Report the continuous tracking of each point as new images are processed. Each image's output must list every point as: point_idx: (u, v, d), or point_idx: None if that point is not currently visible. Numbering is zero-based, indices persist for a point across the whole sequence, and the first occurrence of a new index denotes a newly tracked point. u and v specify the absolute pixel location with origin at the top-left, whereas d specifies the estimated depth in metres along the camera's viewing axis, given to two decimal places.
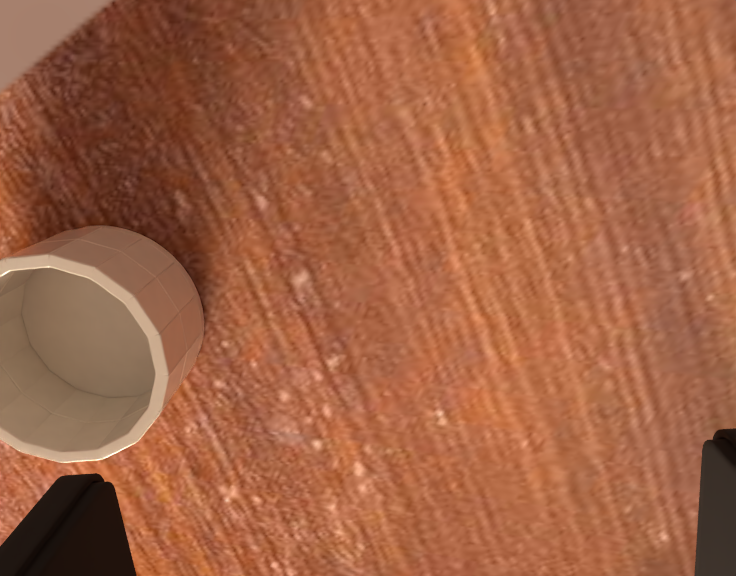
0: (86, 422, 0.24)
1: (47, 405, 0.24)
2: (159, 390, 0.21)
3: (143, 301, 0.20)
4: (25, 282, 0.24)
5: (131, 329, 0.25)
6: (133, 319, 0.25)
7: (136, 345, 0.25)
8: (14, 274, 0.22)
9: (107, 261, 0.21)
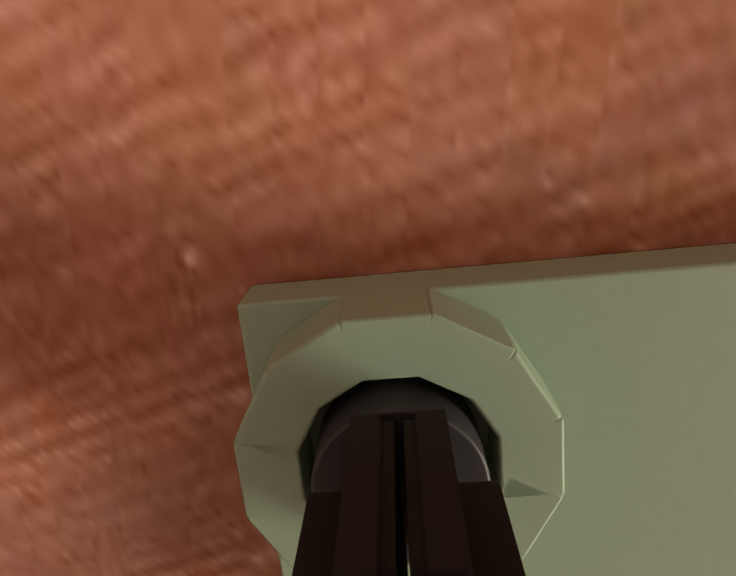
0: None
1: None
2: None
3: None
4: None
5: None
6: None
7: None
8: None
9: None
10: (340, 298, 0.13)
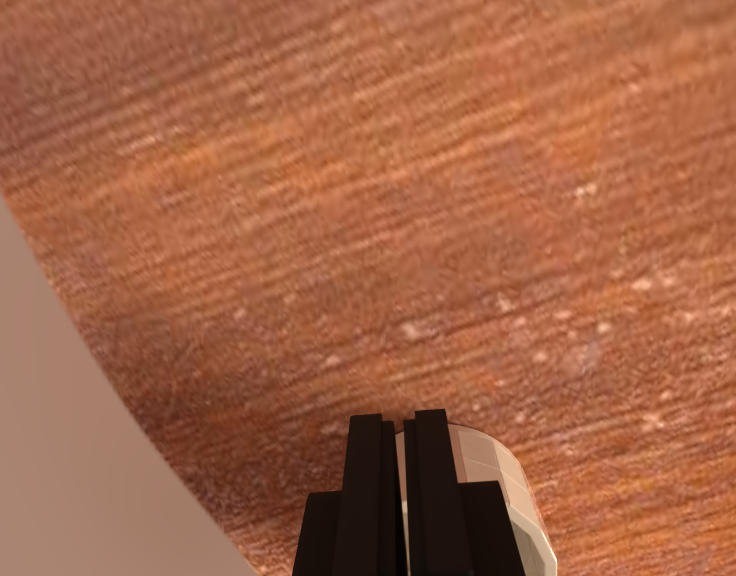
0: (531, 554, 0.24)
1: None
2: None
3: None
4: None
5: None
6: None
7: None
8: None
9: None
10: None
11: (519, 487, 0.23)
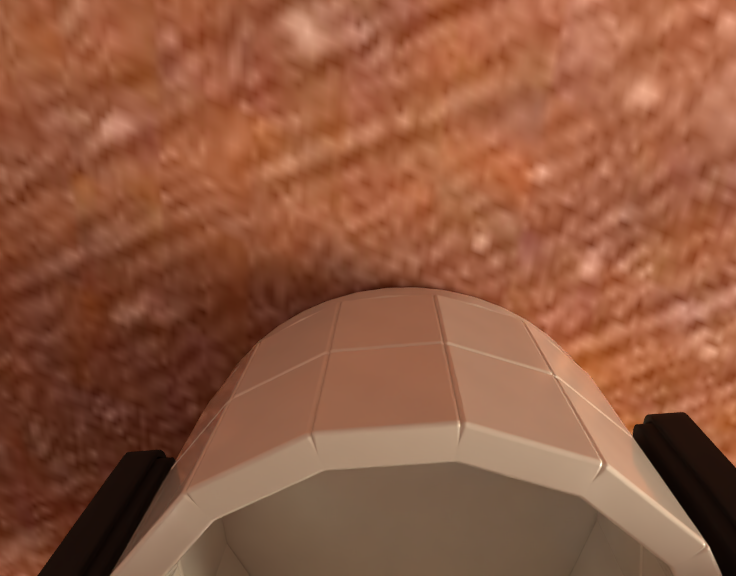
0: None
1: None
2: (517, 457, 0.06)
3: (219, 463, 0.07)
4: None
5: None
6: None
7: None
8: None
9: (136, 529, 0.07)
10: None
11: (611, 424, 0.08)
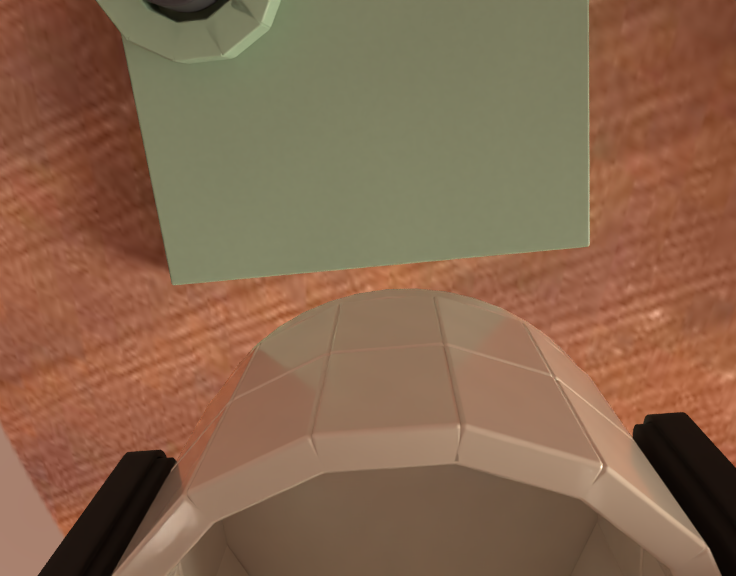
0: None
1: None
2: (518, 459, 0.06)
3: (220, 465, 0.07)
4: None
5: None
6: None
7: None
8: None
9: (137, 530, 0.07)
10: None
11: (612, 425, 0.08)
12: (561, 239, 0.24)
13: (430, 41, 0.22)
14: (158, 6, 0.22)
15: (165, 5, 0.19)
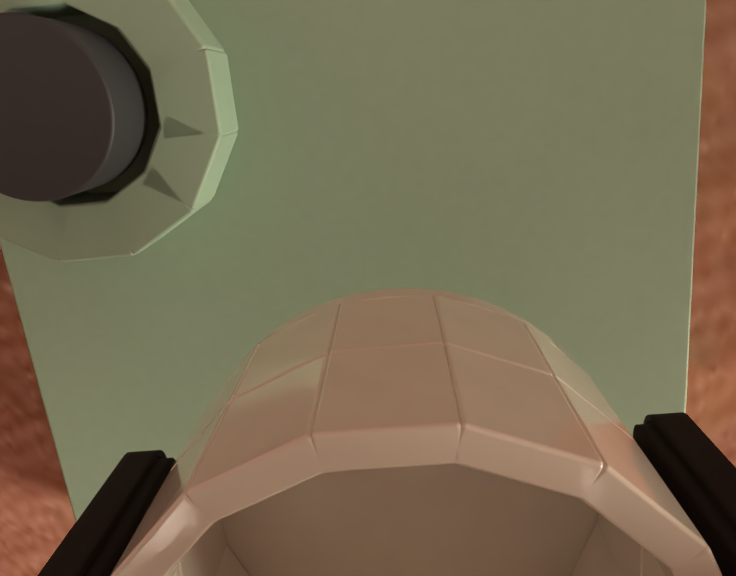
0: None
1: None
2: (518, 458, 0.06)
3: (219, 464, 0.07)
4: None
5: None
6: None
7: None
8: None
9: None
10: None
11: (612, 424, 0.08)
12: None
13: (455, 220, 0.15)
14: None
15: (28, 199, 0.12)
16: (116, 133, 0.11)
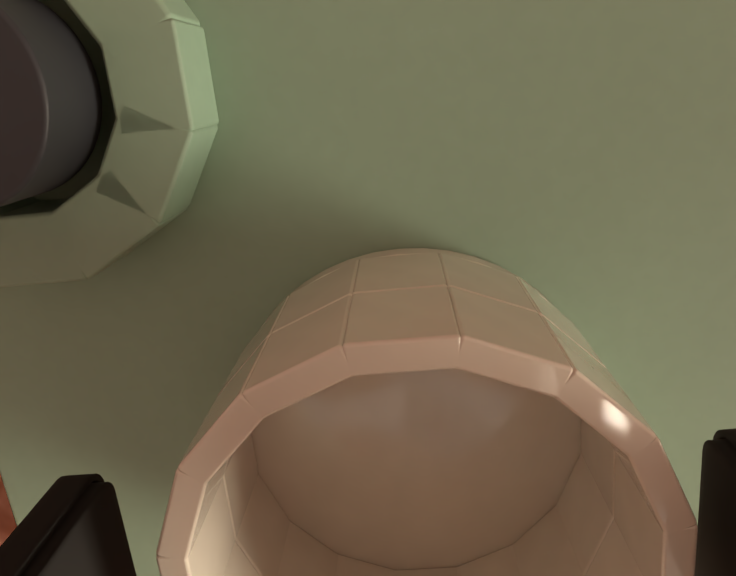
0: (612, 517, 0.11)
1: None
2: (505, 364, 0.08)
3: (268, 373, 0.08)
4: (335, 555, 0.13)
5: (432, 391, 0.12)
6: (410, 385, 0.12)
7: (468, 386, 0.12)
8: None
9: (195, 435, 0.09)
10: None
11: (587, 353, 0.10)
12: None
13: (485, 234, 0.12)
14: None
15: None
16: (52, 127, 0.09)
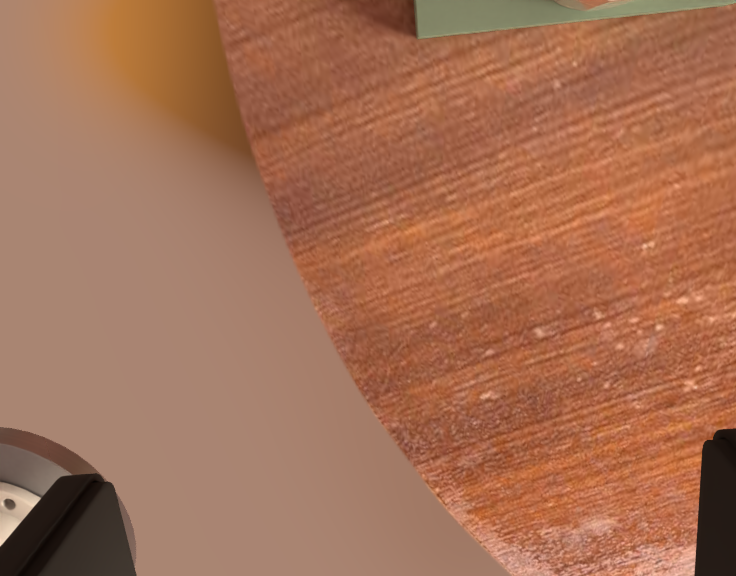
0: None
1: None
2: None
3: None
4: None
5: None
6: None
7: None
8: None
9: None
10: None
11: None
12: None
13: None
14: None
15: None
16: None
